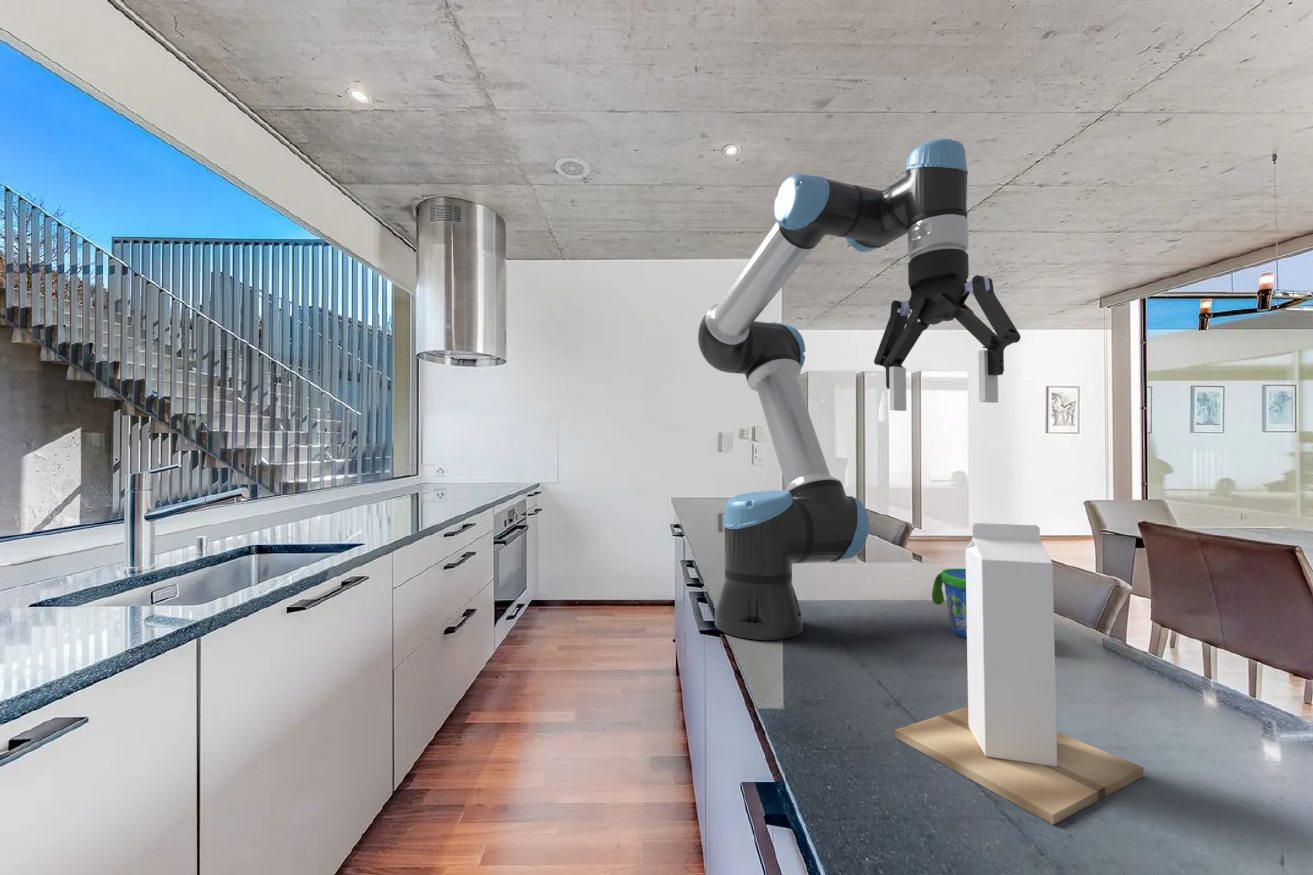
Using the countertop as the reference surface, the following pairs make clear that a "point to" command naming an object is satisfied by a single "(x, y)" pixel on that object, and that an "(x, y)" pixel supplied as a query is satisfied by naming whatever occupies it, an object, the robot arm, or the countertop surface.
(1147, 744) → the countertop surface
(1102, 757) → the flat cardboard box
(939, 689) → the countertop surface
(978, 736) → the milk
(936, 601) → the snack cup
